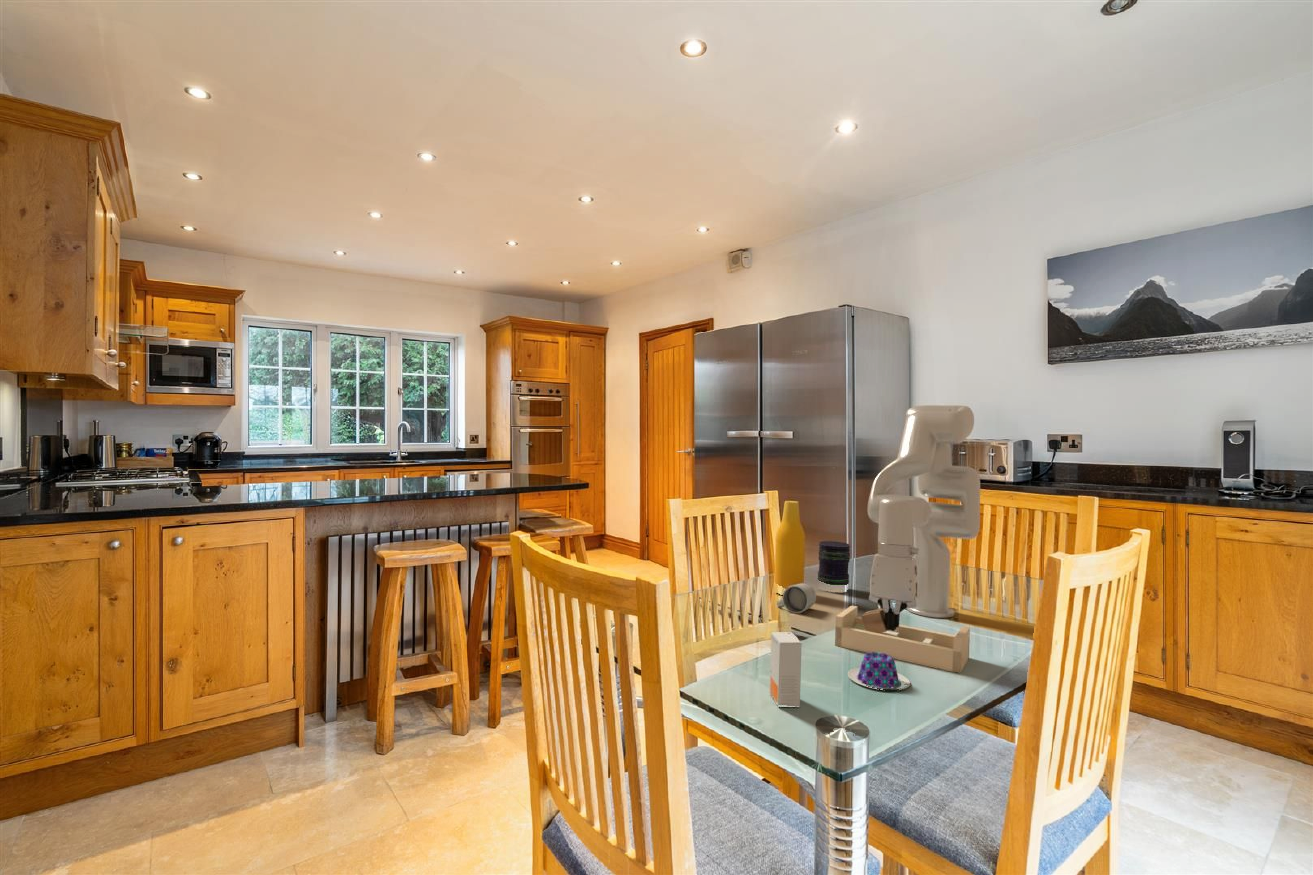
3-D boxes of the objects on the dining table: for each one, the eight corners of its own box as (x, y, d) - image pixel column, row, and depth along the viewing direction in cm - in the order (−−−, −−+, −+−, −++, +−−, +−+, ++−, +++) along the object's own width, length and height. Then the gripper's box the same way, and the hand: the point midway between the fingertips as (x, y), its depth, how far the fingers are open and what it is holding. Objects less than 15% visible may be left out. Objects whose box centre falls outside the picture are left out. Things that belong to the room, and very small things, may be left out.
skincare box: (768, 694, 117) (770, 631, 117) (790, 694, 118) (792, 631, 118) (777, 708, 111) (779, 642, 111) (800, 708, 112) (802, 642, 112)
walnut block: (872, 630, 150) (866, 611, 150) (891, 626, 147) (884, 608, 148) (867, 634, 146) (861, 615, 147) (886, 631, 143) (879, 612, 144)
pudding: (905, 699, 118) (906, 671, 118) (841, 684, 124) (842, 658, 124) (913, 678, 128) (914, 653, 128) (854, 666, 134) (855, 642, 134)
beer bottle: (802, 598, 189) (805, 503, 189) (771, 595, 192) (774, 501, 192) (805, 591, 198) (808, 501, 197) (775, 588, 201) (778, 499, 200)
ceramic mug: (817, 609, 178) (817, 582, 178) (807, 615, 171) (808, 587, 171) (782, 603, 183) (782, 577, 183) (771, 609, 177) (772, 582, 177)
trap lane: (850, 632, 157) (851, 605, 156) (968, 657, 141) (970, 627, 141) (834, 645, 147) (835, 615, 147) (960, 673, 131) (961, 640, 131)
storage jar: (818, 592, 198) (820, 545, 198) (815, 584, 207) (817, 540, 207) (850, 594, 196) (852, 547, 196) (846, 587, 206) (848, 542, 206)
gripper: (931, 552, 144) (928, 631, 144) (866, 544, 152) (863, 619, 152) (926, 557, 137) (923, 639, 137) (857, 548, 146) (854, 626, 145)
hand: (891, 629), depth 144 cm, fingers closed
